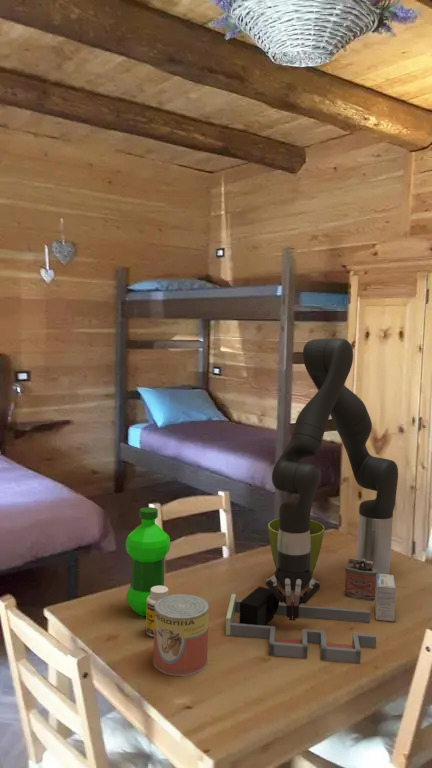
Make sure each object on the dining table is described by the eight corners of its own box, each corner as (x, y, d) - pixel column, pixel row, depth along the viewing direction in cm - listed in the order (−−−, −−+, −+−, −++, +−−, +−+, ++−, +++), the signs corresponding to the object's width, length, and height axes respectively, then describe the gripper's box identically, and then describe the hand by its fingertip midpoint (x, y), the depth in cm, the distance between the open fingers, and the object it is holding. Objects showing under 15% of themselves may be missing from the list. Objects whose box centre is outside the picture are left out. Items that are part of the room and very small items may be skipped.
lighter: (376, 596, 169) (378, 559, 168) (375, 601, 166) (377, 563, 165) (344, 591, 172) (346, 554, 171) (343, 596, 168) (345, 559, 167)
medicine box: (394, 622, 155) (396, 587, 154) (375, 620, 156) (377, 585, 155) (392, 608, 163) (394, 574, 162) (374, 606, 164) (375, 572, 163)
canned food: (143, 667, 132) (144, 610, 131) (169, 642, 142) (170, 589, 141) (193, 681, 128) (194, 622, 126) (216, 654, 138) (218, 600, 137)
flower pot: (293, 600, 165) (296, 539, 164) (254, 581, 177) (256, 523, 175) (333, 586, 175) (336, 528, 173) (293, 568, 186) (295, 514, 184)
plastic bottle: (140, 598, 164) (142, 501, 161) (176, 608, 159) (178, 508, 156) (116, 613, 155) (117, 511, 153) (153, 624, 150) (155, 519, 148)
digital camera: (260, 637, 146) (261, 607, 145) (238, 631, 148) (239, 601, 148) (278, 619, 155) (280, 590, 154) (258, 613, 157) (259, 585, 157)
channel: (231, 609, 159) (231, 593, 159) (369, 620, 155) (370, 604, 155) (221, 650, 139) (222, 632, 139) (379, 665, 136) (380, 646, 135)
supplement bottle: (142, 636, 145) (142, 591, 144) (151, 625, 150) (152, 582, 149) (165, 640, 143) (166, 595, 142) (174, 629, 149) (175, 585, 147)
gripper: (322, 543, 152) (320, 613, 155) (265, 540, 154) (264, 609, 156) (323, 555, 145) (321, 628, 147) (264, 552, 147) (263, 625, 149)
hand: (292, 618), depth 152 cm, fingers closed
